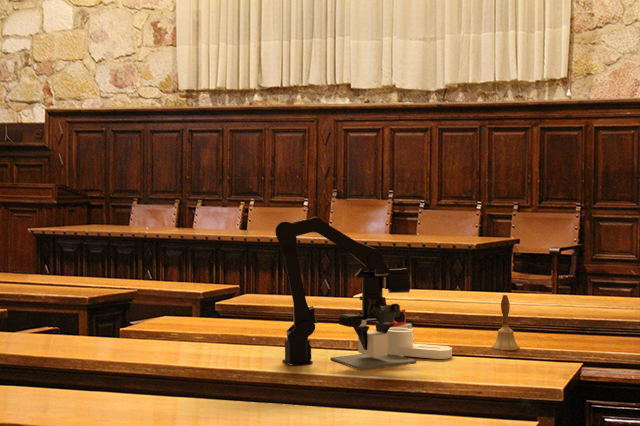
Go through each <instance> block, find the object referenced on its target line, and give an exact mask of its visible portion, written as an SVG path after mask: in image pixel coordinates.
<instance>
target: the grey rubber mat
mask: <svg viewBox="0 0 640 426" xmlns="http://www.w3.org/2000/svg"><path fill="white" fill-rule="evenodd" d="M330 360H331V361H334V362H336V363H338V364H342V363H343V364H342V365H344V364H346V365H345V366H347V365H349V366H348V367H350V366H352V367H351V368H353V367H354V369H356V368H357V370H359V369H360V370H359V371H364V369H365V370H371V368H373V369H380V368H387V367H386V366H388V367H394V366H395V365H396V366H402V365H401V364H403V365H409V364H408V363H411V364H416V363H417V360H415V359H412V358H408V357H406V356H400V355H390V354H387V356H380V357H371V356H368V355H365V354H362V353H356V354H349V355H341V356H334V357H332V356H331V357H330ZM379 367H380V368H379Z"/></svg>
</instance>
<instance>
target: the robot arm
mask: <svg viewBox="0 0 640 426" xmlns="http://www.w3.org/2000/svg"><path fill="white" fill-rule="evenodd" d="M274 229H275V230H274V231H275V236H276V239H277V242H278V244H279V246H280V249H281V252H282V255H283V258H284V263H285V267H286V273H287V277H288V283H289V287H290V292H291V296H292V297H291V298H292V303H293V306H292V307H293V312H292V313H293V324H292V325H291V326H290V327H289V328H288V329H287V330H286V331H285V332H286V337H287V338H286V339H285V340H284V359H282V363H285V364H287V365H290V366H299V365H298V364H301V365H308V364H313V363H314V362H313V361H314V360H312V345H311V344H310V343H311V341H310V340H309V337H310V336H311V335H313V334H314V332H315V330H316V324H318V321H317V319H316V316H315V315H316V313H315V306H314V305H310V306H309V305H308V303H307V302H308V301H307V298H306V294H305V289H304V284H303V277H302V273H301V269H300V263H299V259H298V254H297V252H298V251H297V250H298V249H297V248H298V247H297V242H298V241H297V239H298V238H297V237H299V236H304V235H306V234H309V233H313V232H315V233H317V234H319V235H320V236H322V237H324V238H325V239H327V240H329V241H330V242H332V243H333V244H335V245H336V246H339V247H340V248H341V249H343V250H345V251H347V252H348V253H350V255H352V257H354V258H355V259H356V260H357V261H359V262H360V263H361V264H362V265H363V266H364V267H366V268H367V269H369V270H364V269H363V268H360V269H359V270H358V271H357V272H356V273H355V274H354V276H355V277H356V278H358V279H359V278H361V295H360V296H359V301H361V309H362V310H360V311H359V314H355V313H344V314H340V316H339V318H338V325H340V326H344V327H347V328H353V330H354V331H355V333H356V335H357V338H358V337H359V339H360V341H361V344H362V346H363V348H364V350H367V344H368V340H367V331H368V330H370V326H369V325H367V323H373V322H374V323H375V331H378V332H382V333H386V334H387V332H388V330H389V329H390V328H391V327H392V326H394V325H395V324H394V323H392V322H394V320H395V322H405V314H404V313H403V312H402V311H400V310H401V305H399V304H398V303H391V304H387V298H386V297H385V296H384V294H383V293H384V292H383V288H384V290H387V291H388V293H389V294H400V293H401V294H409V293H410V291H411V290H410V289H411V280H410V274H409V268H406V267H404V268H403V267H402V268H389V266H388V265H387V264H386V263H385V259H384V255H383V252H381V251H380V250H378V249H376V248H375V247H371V246H369V245H367V244H365V243H361V242H359V241H357V240H355V239H353V238H351V237H350V236H349V235H347V234H345V233H343V232H341V231H339V230H338V229H336V228H335V227H333V226H331V225H330V224H328V223H327V222H325V221H324V220H322V219H321V218H320V217H318V216H311V218H307V219H302V220H298V221H293V222H291V221H288V220H283V221H280V222H278V224H277V225H276V226H275V228H274ZM375 270H377V271H379V272H380V273H379V274H378V273H377V274H376V272H375ZM383 286H384V287H383Z"/></svg>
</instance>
